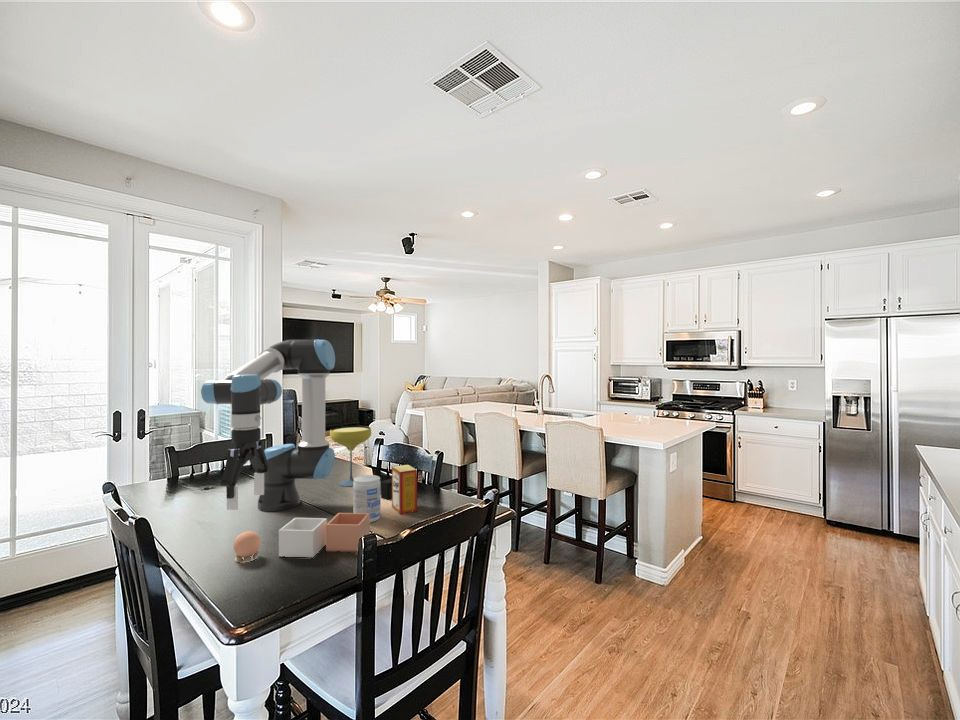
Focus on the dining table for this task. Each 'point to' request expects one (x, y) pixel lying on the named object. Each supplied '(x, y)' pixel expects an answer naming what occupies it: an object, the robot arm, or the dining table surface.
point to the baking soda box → (404, 488)
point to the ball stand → (245, 558)
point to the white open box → (302, 537)
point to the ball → (247, 544)
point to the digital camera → (386, 489)
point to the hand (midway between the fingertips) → (246, 501)
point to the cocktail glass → (350, 442)
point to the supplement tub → (367, 496)
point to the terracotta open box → (346, 531)
